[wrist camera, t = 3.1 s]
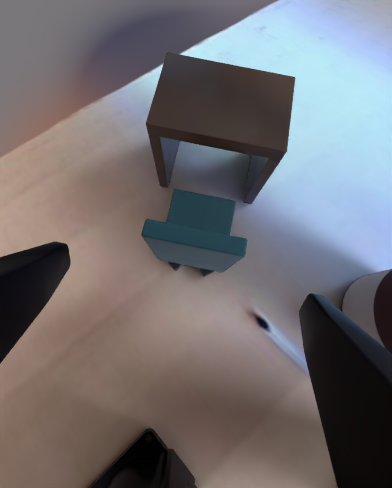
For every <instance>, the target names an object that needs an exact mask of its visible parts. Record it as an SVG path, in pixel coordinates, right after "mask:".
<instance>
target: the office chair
mask: <svg viewBox="0 0 392 488" xmlns="http://www.w3.org/2000/svg"><path fill="white" fill-rule="evenodd" d="M234 208H235V201H233V200H227V199H222V198H217V197H212V196H207V195H202V194H197V193H192V192H187V191H182V190H177V189H174V193H173V197H172V201H171V205H170V209H169V213H168V217H167V222H166V223H165V222H160V221H155V220H150V219H146V220H145V223H144V227H143V231H142V237H143V238H144V240H145V241H146V243H147V244H148V245H149V247H150V248H151V250H152V251H153V252H154V254H155V255H156V257H157V258H158V259H160V260H163V261H168V263H169V264H170V265H171V266H172V267H173V269H174V270H175V271H177V270H178V269H179V268H180V267H181V266H182V265H188V266H193V267H198V268H200V270H201V272H202V275H203V276H206V275H208V274H210V273H213V272H214V271H217V272H224V271H225V270H227V269H228V268H229V267H231V266H232V265H234V264H235V263H236V262H238V261H239V260H240V259H242V258H243V257H244V256H245V253H246V246H247V239H245V238H240V237H235V236H230V232H231V226H232V220H233V214H234Z"/></svg>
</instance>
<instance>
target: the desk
mask: <svg viewBox="0 0 392 488" xmlns="http://www.w3.org/2000/svg"><path fill="white" fill-rule="evenodd" d="M294 84H295V77H292V76H286V75H281V74H276V73H271V72H266V71H261V70H256V69H250V68H245V67H240V66H235V65H230V64H225V63H220V62H214V61H209V60H204V59H199V58H194V57H189V56H183V55H178V54H173V53H167V54H166V58H165V61H164V65H163V68H162V71H161V75H160V78H159V81H158V85H157V88H156V91H155V95H154V98H153V101H152V105H151V108H150V111H149V115H148V118H147V121H146V126H147V131H148V134H149V139H150V144H151V148H152V152H153V156H154V161H155V165H156V169H157V174H158V178H159V182H160V186H165V187H168V186H169V182H170V178H171V174H172V170H173V166H174V162H175V158H176V154H177V150H178V146H179V142H180V141H184V142H189V143H194V144H199V145H204V146H209V147H214V148H219V149H224V150H229V151H234V152H239V153H244V154H250V155H251V157H250V164H249V170H248V176H247V183H246V189H245V196H244V202H245V203H250V204H252V202H253V201H254V199H255V198H256V196H257V195H258V193H259V192H260V190H261V189H262V187H263V186H264V184H265V183H266V182H267V180H268V179H269V177H270V176H271V174H272V173H273V171H274V170H275V168H276V167H277V165H278V164H279V162H280V161H281V159H282V158H283V156H284V155H285V153H286V152H287V146H288V137H289V128H290V119H291V111H292V102H293V93H294Z"/></svg>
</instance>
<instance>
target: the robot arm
mask: <svg viewBox="0 0 392 488" xmlns="http://www.w3.org/2000/svg"><path fill="white" fill-rule="evenodd" d="M69 267H70V255H69V248H68V245H67V244H65V243H61V242H51V243H48V244H44V245H41V246H38V247H34V248H31V249H27V250H24V251H20V252H17V253H13V254H10V255H6V256H3V257H0V363H1V362H2V361H3V359H4V358H5V357H6V356H7V354H8V353H9V352H10V350H11V349H12V348H13V347H14V345H15V344H16V343H17V341H18V340H19V339H20V338H21V336H22V335H23V334H24V332H25V331H26V330H27V329H28V327H29V326H30V325H31V323H32V322H33V321H34V319H35V318H36V317H37V316H38V314H39V313H40V312H41V310H42V309H43V308H44V307H45V305H46V304H47V302H48V301H49V299H50V298H51V296H52V295H53V293H54V292H55V290H56V288H57V287H58V285H59V284H60V282H61V280H62V279H63V277H64V275H65V274H66V272H67V271H68V269H69ZM299 317H300V325H301V332H302V339H303V347H304V353H305V358H306V362H307V366H308V370H309V374H310V378H311V382H312V386H313V390H314V394H315V398H316V402H317V406H318V410H319V414H320V418H321V422H322V426H323V430H324V434H325V438H326V443H327V447H328V451H329V455H330V459H331V463H332V467H333V471H334V475H335V479H336V483H337V487H338V488H392V353H391V352H389V351H388V350H387V349H386V348H385V347H383V346H382V345H381V344H380V343H379V342H377V341H376V340H375V339H374V338H373V337H371V336H370V335H369V334H368V333H367V332H366V331H364V330H363V329H362V328H361V327H360V326H358V325H357V324H356V323H355V322H354V321H352V320H351V319H350V318H349V317H348V316H346V315H345V314H344V313H343V312H342V311H340V310H339V309H338V308H337V307H336V306H334V305H333V304H332V303H331V302H330V301H328V300H327V299H326V298H325V297H324V296H322V295H318V294H313V293H310V294H309V295H308V296H307V297H306V299H305V301H304V303H303V304H302V306H301V308H300V311H299ZM147 435H150V436H151V437H152V439H151V440H148V439H147V438H146V436H147ZM88 488H197V487H196V485H195V478H194V477H193V475H192V474H191V473H190V471H189V470H188V469H187V467H186V466H185V465H184V463H183V462H182V461H181V459H180V458H179V457H178V455H177V454H176V453H175V451H174V450H173V449H168V448H167V447H166V445H165V444H164V442H163V441H162V440H161V438H160V437H159V436H158V434H157V433H156V432H155V431H154V430H153V429H151V428H148V429H146V430H145V431H144V432H143V433H142V434H141V435H140V436H139V437H138V438H137V439H136V440H135V441H134V442H133V443H132V444H131V445H130V446H129V447H128V448H127V449H126V450H125V451H124V452H123V453H122V454H121V455H120V456H119V457H118V458H117V459H116V460H115V461H114V462H113V463H112V464H111V465H110V466H109V467H108V468H107V469H106V470H105V471H104V472H103V473H102V474H101V475H100V476H99V477H98V478H97V479H96V480H95V481H94V482H93V483H92V484H91V485H90V486H89V487H88Z"/></svg>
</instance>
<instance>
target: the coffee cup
mask: <svg viewBox="0 0 392 488" xmlns="http://www.w3.org/2000/svg"><path fill="white" fill-rule="evenodd" d="M342 312H343V313H344V314H345V315H346V316H348V317H349V318H350V319H351V320H352V321H354V322H355V323H356V324H357V325H358V326H360V327H361V328H362V329H363V330H364V331H366V332H367V333H368V334H369V335H370V336H371V337H373V338H374V339H375V340H376V341H377V342H379V343H380V344H381V345H382V346H383V347H385V348H386V349H387V350H388V351H389V352H391V353H392V269H390V270H386V271H381V272H377V273H372V274H368V275H365V276H363V277H361V278H359V279H357V280H356V281H355V282H353V283H352V284H351V286H350V287H349V288H348V290H347V291H346V294H345V296H344V300H343V305H342Z"/></svg>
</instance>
